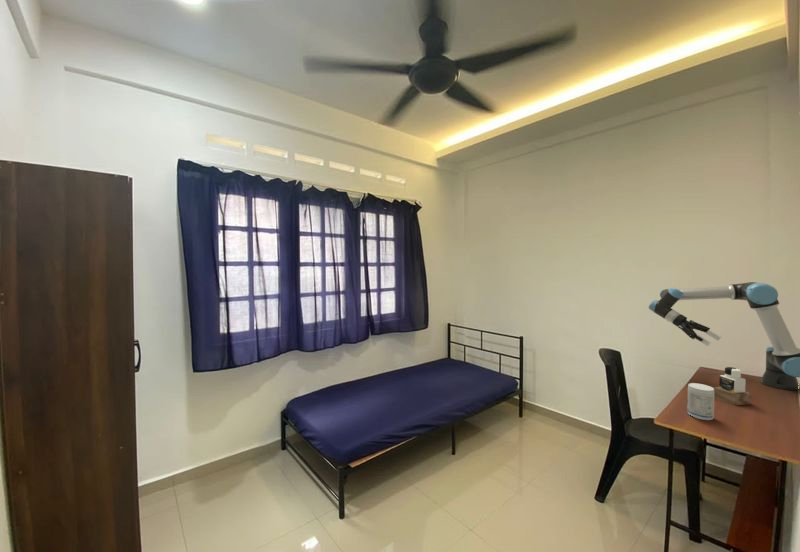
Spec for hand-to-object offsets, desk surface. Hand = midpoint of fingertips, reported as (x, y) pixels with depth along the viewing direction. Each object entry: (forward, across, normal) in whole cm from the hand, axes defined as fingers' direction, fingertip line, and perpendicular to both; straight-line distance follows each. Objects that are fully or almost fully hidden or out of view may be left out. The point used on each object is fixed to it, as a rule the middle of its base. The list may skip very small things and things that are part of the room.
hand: (714, 341), depth 189 cm
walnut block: (+24, +16, -17) cm, 33 cm away
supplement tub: (+22, +52, -14) cm, 58 cm away
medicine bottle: (+21, +15, -12) cm, 28 cm away
